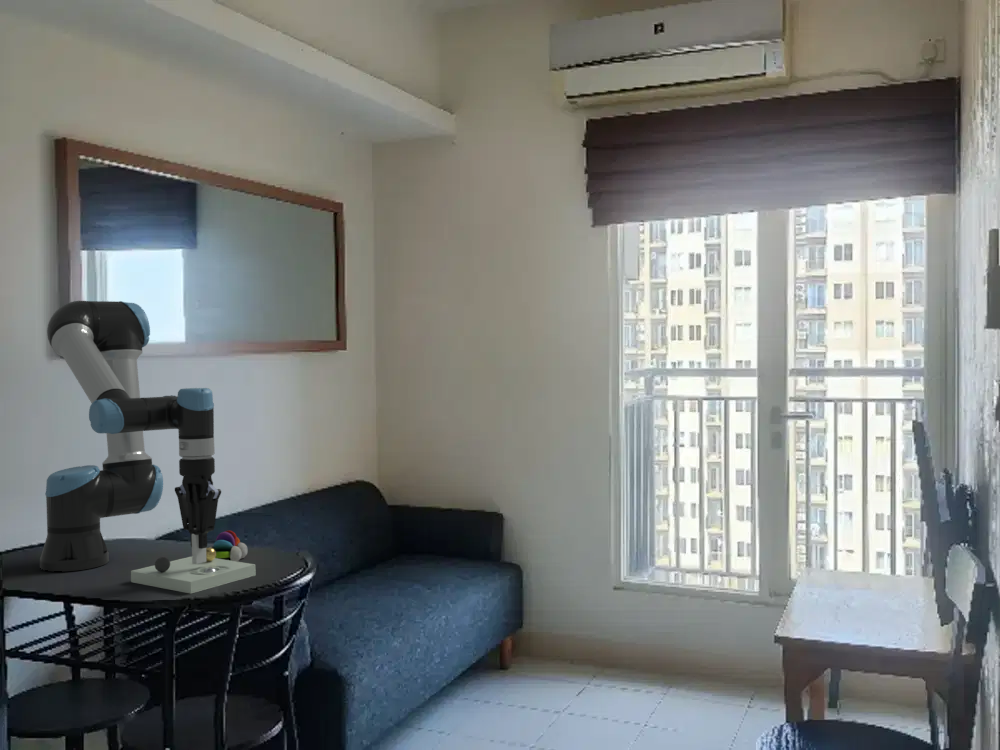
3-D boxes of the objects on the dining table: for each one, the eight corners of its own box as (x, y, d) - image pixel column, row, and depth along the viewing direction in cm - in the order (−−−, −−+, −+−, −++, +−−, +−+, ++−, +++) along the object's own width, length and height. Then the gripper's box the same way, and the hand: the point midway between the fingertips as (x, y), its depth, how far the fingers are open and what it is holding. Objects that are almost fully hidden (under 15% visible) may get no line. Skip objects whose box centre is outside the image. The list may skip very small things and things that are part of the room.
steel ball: (199, 568, 202) (208, 569, 200) (210, 565, 205) (220, 566, 203) (200, 583, 202) (209, 583, 200) (211, 580, 205) (221, 580, 203)
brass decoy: (198, 561, 211) (198, 548, 211) (209, 559, 214) (209, 545, 214) (208, 563, 210) (207, 549, 209) (219, 560, 212) (219, 547, 212)
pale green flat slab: (131, 582, 203) (130, 570, 203) (196, 565, 219) (196, 555, 218) (191, 593, 193) (190, 581, 193) (255, 575, 208) (255, 564, 208)
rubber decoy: (151, 572, 202) (151, 558, 201) (164, 569, 204) (163, 555, 204) (161, 574, 200) (160, 559, 200) (173, 571, 203) (173, 556, 202)
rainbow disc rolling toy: (250, 556, 228) (250, 527, 228) (236, 565, 219) (235, 535, 219) (218, 556, 229) (217, 527, 229) (201, 565, 220) (201, 535, 219)
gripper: (163, 457, 204) (166, 562, 205) (202, 460, 197) (205, 569, 198) (191, 454, 211) (193, 556, 211) (230, 456, 204) (232, 562, 204)
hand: (199, 562), depth 204 cm, fingers closed
